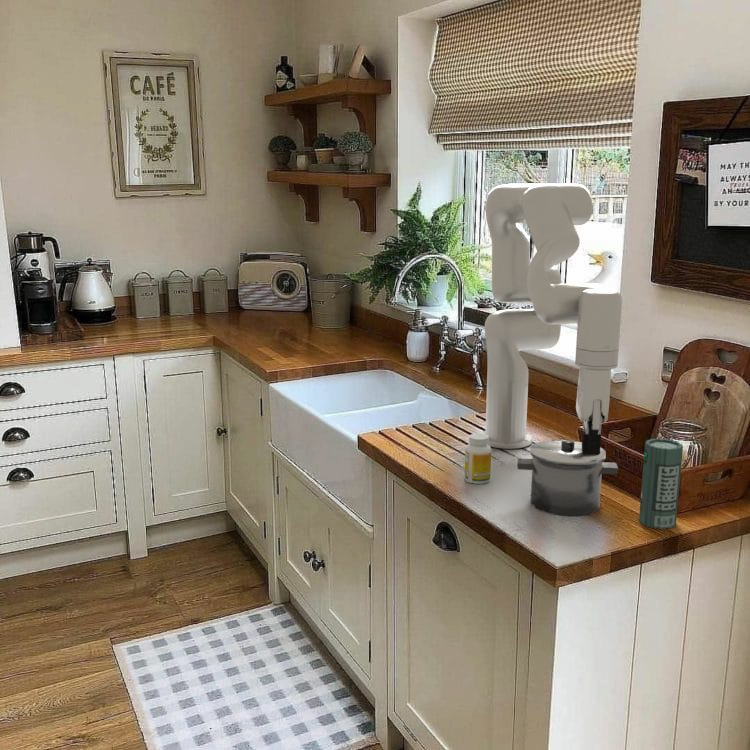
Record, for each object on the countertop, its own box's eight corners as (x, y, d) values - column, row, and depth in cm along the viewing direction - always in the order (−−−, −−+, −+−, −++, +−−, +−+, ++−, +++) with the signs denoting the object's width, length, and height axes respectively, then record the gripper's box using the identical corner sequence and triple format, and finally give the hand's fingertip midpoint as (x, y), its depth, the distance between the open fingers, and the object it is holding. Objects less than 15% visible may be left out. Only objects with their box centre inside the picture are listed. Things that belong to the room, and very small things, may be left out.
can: (664, 514, 154) (671, 438, 150) (681, 527, 148) (688, 448, 145) (634, 516, 153) (640, 439, 150) (649, 530, 147) (656, 450, 144)
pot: (515, 488, 167) (517, 445, 165) (609, 492, 164) (612, 450, 162) (516, 513, 155) (518, 467, 152) (619, 518, 152) (622, 472, 150)
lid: (528, 443, 166) (529, 430, 165) (600, 446, 164) (600, 433, 163) (531, 463, 151) (532, 449, 151) (610, 466, 149) (611, 453, 149)
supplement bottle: (459, 480, 171) (460, 436, 169) (474, 473, 175) (475, 430, 173) (480, 486, 168) (481, 441, 166) (495, 479, 172) (497, 435, 169)
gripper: (572, 348, 158) (566, 440, 162) (579, 366, 144) (573, 465, 148) (612, 349, 157) (606, 441, 161) (624, 367, 143) (616, 467, 147)
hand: (590, 452), depth 155 cm, fingers closed
